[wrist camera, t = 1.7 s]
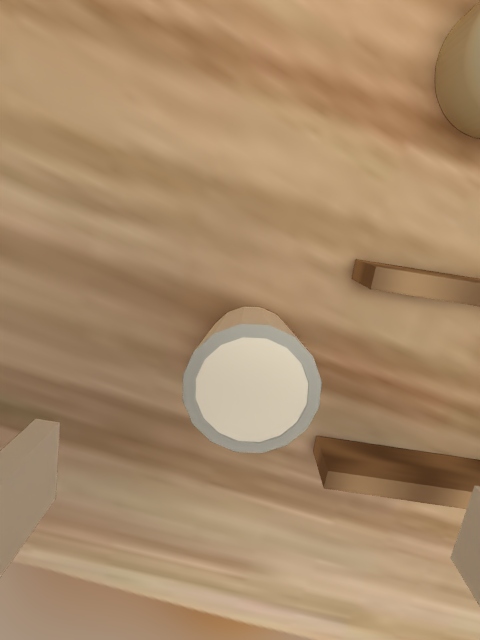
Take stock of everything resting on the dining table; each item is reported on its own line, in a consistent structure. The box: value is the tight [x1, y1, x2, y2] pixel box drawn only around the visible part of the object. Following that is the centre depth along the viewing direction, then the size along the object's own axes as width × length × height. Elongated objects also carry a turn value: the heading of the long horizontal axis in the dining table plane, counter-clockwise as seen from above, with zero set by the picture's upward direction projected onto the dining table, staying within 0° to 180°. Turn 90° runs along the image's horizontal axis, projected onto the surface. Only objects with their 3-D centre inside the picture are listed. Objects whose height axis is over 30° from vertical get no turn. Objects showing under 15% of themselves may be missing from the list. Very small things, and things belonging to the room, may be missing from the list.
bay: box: [313, 259, 480, 509], centre depth 25 cm, size 13×13×4 cm
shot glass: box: [183, 306, 322, 453], centre depth 23 cm, size 7×7×7 cm
